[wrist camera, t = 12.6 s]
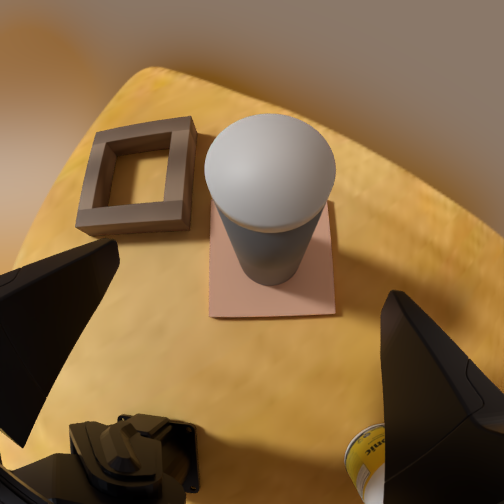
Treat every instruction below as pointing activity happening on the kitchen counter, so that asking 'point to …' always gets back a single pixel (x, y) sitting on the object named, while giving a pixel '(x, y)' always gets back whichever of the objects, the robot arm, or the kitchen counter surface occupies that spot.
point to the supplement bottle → (367, 463)
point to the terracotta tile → (270, 297)
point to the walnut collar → (144, 214)
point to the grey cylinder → (270, 191)
